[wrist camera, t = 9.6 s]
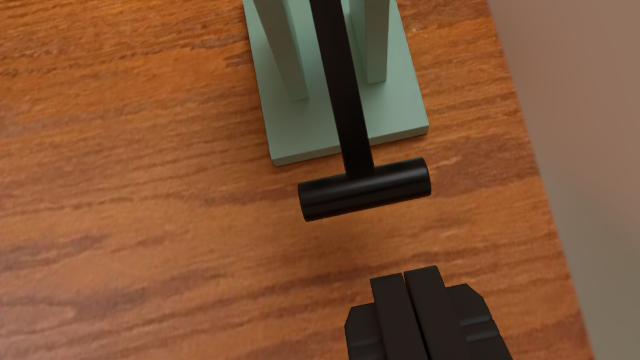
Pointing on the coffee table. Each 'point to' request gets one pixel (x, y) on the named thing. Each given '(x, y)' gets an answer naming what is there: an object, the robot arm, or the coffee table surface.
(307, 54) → the bracket
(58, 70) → the coffee table surface
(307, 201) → the lever
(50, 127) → the coffee table surface
